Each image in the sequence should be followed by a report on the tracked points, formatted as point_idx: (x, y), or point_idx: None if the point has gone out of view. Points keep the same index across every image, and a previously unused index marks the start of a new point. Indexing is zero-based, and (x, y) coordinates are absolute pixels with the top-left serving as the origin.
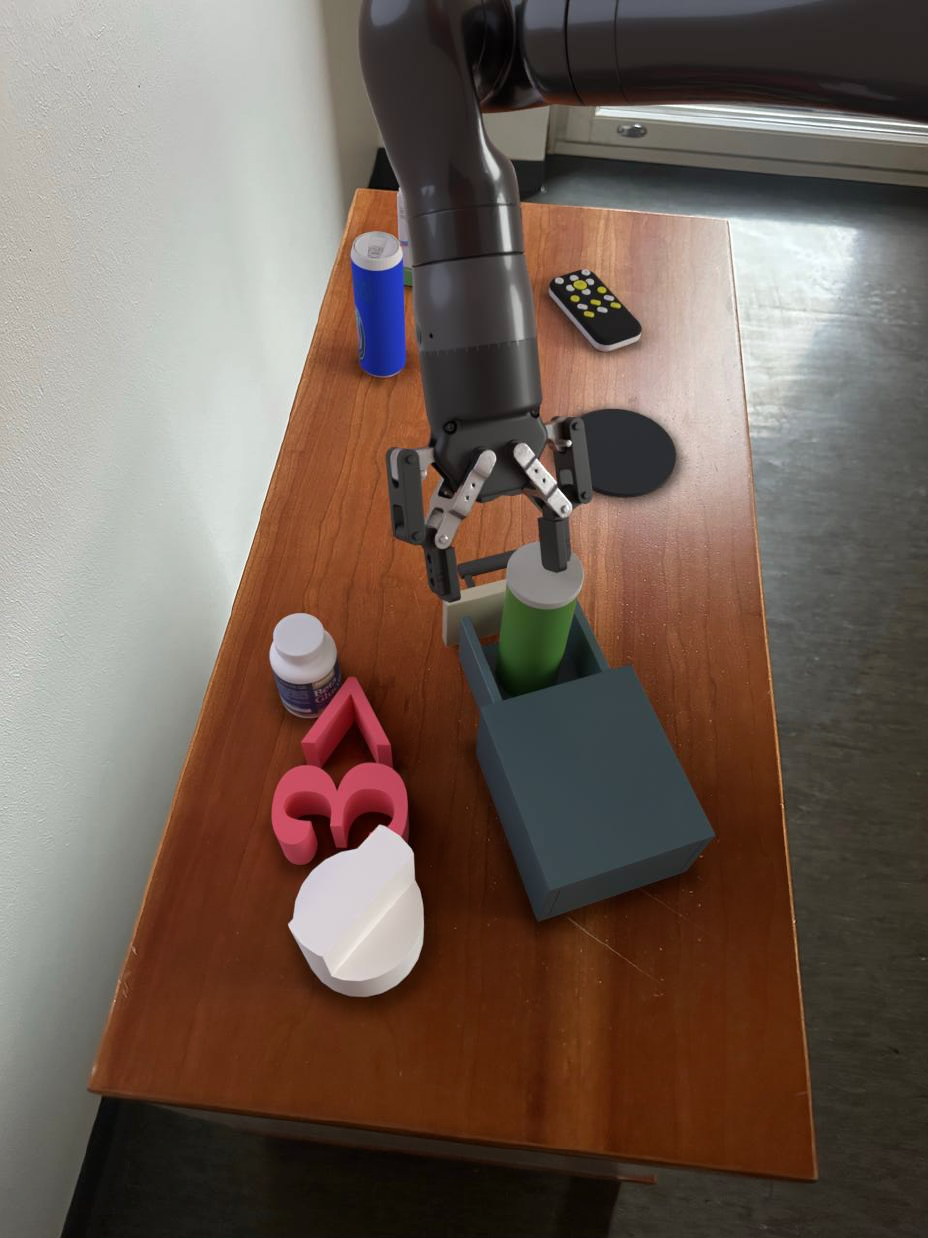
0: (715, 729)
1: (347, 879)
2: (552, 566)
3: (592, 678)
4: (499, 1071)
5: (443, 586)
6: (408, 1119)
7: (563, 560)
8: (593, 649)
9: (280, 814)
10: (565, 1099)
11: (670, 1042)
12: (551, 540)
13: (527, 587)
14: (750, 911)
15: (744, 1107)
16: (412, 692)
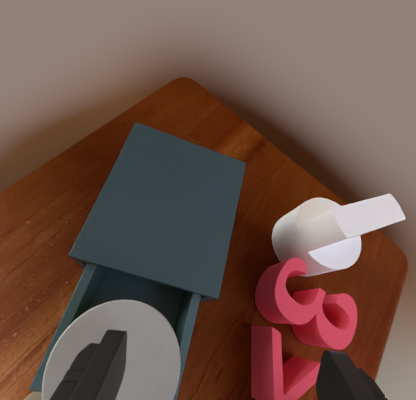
0: (32, 215)
1: (372, 220)
2: (123, 351)
3: (113, 264)
4: (268, 161)
5: (366, 382)
6: (306, 172)
7: (108, 342)
8: (80, 298)
9: (351, 319)
10: (249, 139)
11: (199, 125)
12: (103, 396)
13: (162, 354)
14: (122, 132)
15: (189, 95)
16: (209, 383)
